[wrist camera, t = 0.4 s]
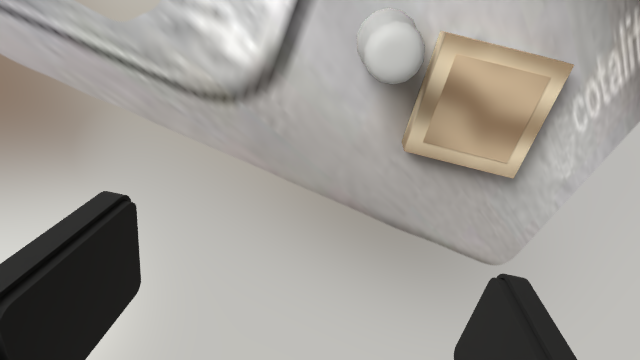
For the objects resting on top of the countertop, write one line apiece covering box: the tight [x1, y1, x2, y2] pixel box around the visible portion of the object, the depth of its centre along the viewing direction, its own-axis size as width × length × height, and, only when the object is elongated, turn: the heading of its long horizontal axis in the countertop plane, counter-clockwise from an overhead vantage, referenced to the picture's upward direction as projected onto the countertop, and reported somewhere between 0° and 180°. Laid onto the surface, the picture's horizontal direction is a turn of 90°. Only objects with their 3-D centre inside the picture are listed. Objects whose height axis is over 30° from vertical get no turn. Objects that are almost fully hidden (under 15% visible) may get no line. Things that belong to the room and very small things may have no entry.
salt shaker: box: [357, 8, 425, 84], centre depth 30 cm, size 6×6×13 cm
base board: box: [402, 31, 574, 179], centre depth 37 cm, size 12×12×3 cm
